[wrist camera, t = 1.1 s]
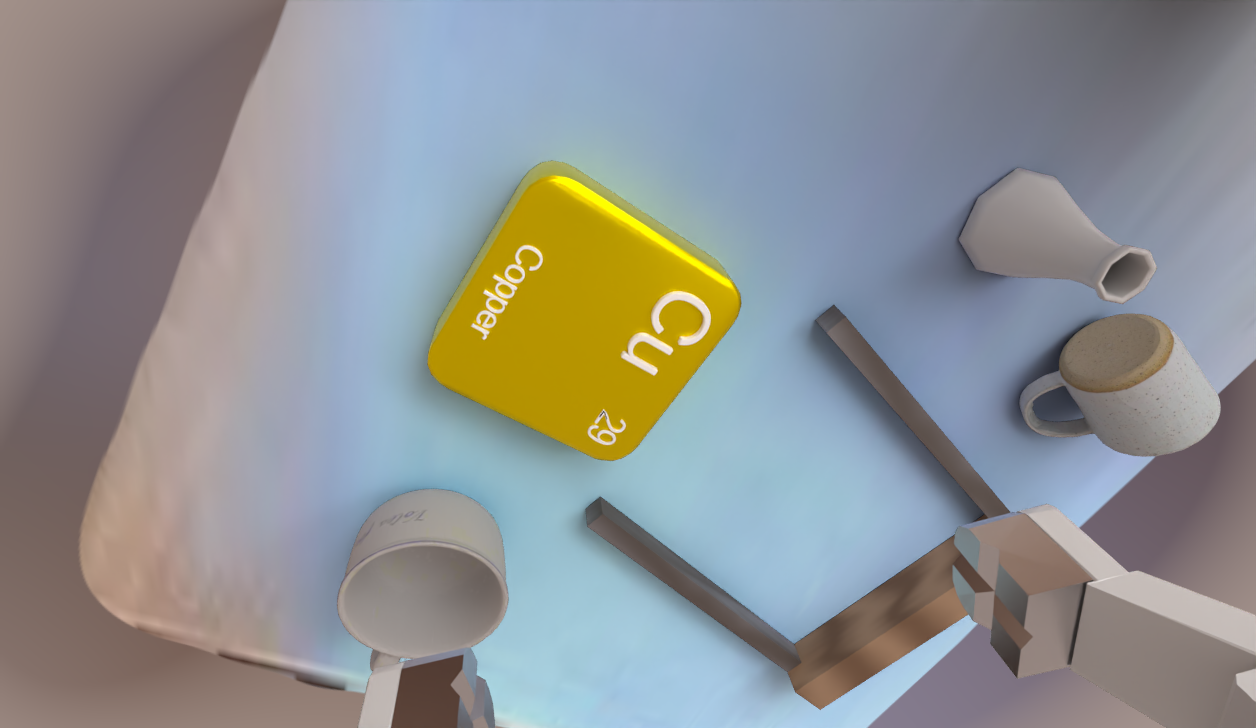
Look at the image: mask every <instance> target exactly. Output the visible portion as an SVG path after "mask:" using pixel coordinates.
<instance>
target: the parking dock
mask: <svg viewBox="0 0 1256 728" xmlns="http://www.w3.org/2000/svg"><path fill="white" fill-rule="evenodd" d="M816 321H817V323H818V324H819V325H820V326H821V327H822V328H823V329H824V331H825V332H826V333H827V334H828V335H829V336H830V337H831V339H832V340H833V341H834V342H835V343H836V344H837V345H838V347H839V348H840V349H841V350H842V351H843V352H844V354H845V355H846V356H847V357H848V358H849V359H850V360H851V362H852V363H853V364H854V365H855V366H856V367H857V368H858V370H859V371H860V372H861V373H862V374H863V375H864V376H865V378H866V379H867V380H868V381H869V382H870V383H871V384H872V386H873V387H874V388H875V389H876V390H877V391H878V392H879V394H880V395H881V396H882V397H883V398H884V399H885V400H886V402H887V403H888V404H889V405H890V406H891V407H892V408H893V410H894V411H895V412H896V413H897V414H898V415H899V416H900V418H901V419H902V420H903V421H904V422H905V423H906V424H907V426H908V427H909V428H910V429H911V430H912V431H913V432H914V434H915V435H916V436H917V437H918V438H919V439H920V440H921V442H922V443H923V444H924V445H925V446H926V447H927V448H928V450H929V451H930V452H931V453H932V454H933V455H934V456H935V458H936V459H937V460H938V461H939V462H940V463H941V464H942V466H943V467H944V468H945V469H946V470H947V471H948V472H949V474H950V475H951V476H952V477H953V478H954V479H955V480H956V482H957V483H958V484H959V485H960V486H961V487H962V488H963V490H964V491H965V492H966V493H967V494H968V495H969V496H970V498H971V499H972V500H973V501H974V502H975V503H976V504H977V506H978V507H979V508H980V509H981V510H982V511H983V512H984V514H985V515H983V516H982V517H980V518H979V519H977V520H976V521H974V522H977V521H981V520H985V519H989V518H992V517H996V516H1000V515H1004V514H1008V513H1011V512H1010V511H1009V510H1008V509H1007V508H1006V507H1005V505H1004V504H1003V503H1002V502H1001V501H1000V499H999V498H998V497H997V496H996V495H995V493H994V492H993V491H992V490H991V489H990V488H989V486H988V485H987V484H986V483H985V482H984V480H983V479H982V478H981V477H980V476H979V474H978V473H977V472H976V471H975V470H974V469H973V467H972V466H971V465H970V464H969V463H968V461H967V460H966V459H965V458H964V457H963V455H962V454H961V453H960V452H959V451H958V450H957V448H956V447H955V446H954V445H953V444H952V442H951V441H950V440H949V439H948V438H947V436H946V435H945V434H944V433H943V432H942V431H941V429H940V428H939V427H938V426H937V425H936V423H935V422H934V421H933V420H932V419H931V417H930V416H929V415H928V414H927V413H926V412H925V410H924V409H923V408H922V407H921V406H920V404H919V403H918V402H917V401H916V400H915V398H914V397H913V396H912V395H911V394H910V393H909V391H908V390H907V389H906V388H905V387H904V385H903V384H902V383H901V382H900V381H899V379H898V378H897V377H896V376H895V375H894V374H893V372H892V371H891V370H890V369H889V368H888V366H887V365H886V364H885V363H884V362H883V360H882V359H881V358H880V357H879V356H878V355H877V353H876V352H875V351H874V350H873V349H872V347H871V346H870V345H869V344H868V343H867V341H866V340H865V339H864V338H863V337H862V336H861V334H860V333H859V332H858V331H857V330H856V328H855V327H854V326H853V325H852V324H851V322H850V321H849V320H848V319H847V318H846V317H845V316H844V315H843V314H842V313H841V312H840V310H839V309H838V308H837V307H836V306H835V305H833V306H832V307H831V308H830V309H828V310H827V311H826V312H825V313H823V314H822V315H821V316H820V317H819V318H817V319H816ZM586 518H587V527H589V528H590V529H591V530H593V531H594V532H595V533H597V534H598V535H600V536H601V537H602V538H604V539H605V540H606V541H608V542H609V543H611V544H612V545H613V546H615V547H616V548H617V549H619V550H620V551H622V552H623V553H624V554H626V555H627V556H629V557H630V558H631V559H633V560H634V561H635V562H637V563H638V564H640V565H641V566H642V567H644V568H645V569H646V570H648V571H649V572H651V573H652V574H653V575H655V576H656V577H657V578H659V579H660V580H662V581H663V582H664V583H666V584H667V585H668V586H670V587H671V588H673V589H674V590H675V591H677V592H678V593H679V594H681V595H682V596H684V597H685V598H686V599H688V600H689V601H690V602H692V603H693V604H695V605H696V606H697V607H699V608H700V609H701V610H703V611H704V612H706V613H707V614H708V615H710V616H711V617H712V618H714V619H715V620H717V621H718V622H719V623H721V624H722V625H723V626H725V627H726V628H728V629H729V630H730V631H732V632H733V633H734V634H736V635H737V636H739V637H740V638H741V639H743V640H744V641H745V642H747V643H748V644H750V645H751V646H752V647H754V648H755V649H756V650H758V651H759V652H761V653H762V654H763V655H765V656H766V657H767V658H769V659H770V660H772V661H773V662H774V663H776V664H777V665H778V666H780V667H781V668H783V669H784V670H785V671H787V672H788V674H789V677H790V680H791V682H792V685H793V688H794V690H795V692H796V693H797V694H799V695H800V696H802V697H803V698H804V699H806V700H807V701H809V702H810V703H811V704H813V705H814V706H816V707H817V708H818V709H820V710H821V709H822V708H824V707H825V706H827V705H828V704H830V703H832V702H833V701H835V700H836V699H838V698H839V697H841V696H842V695H844V694H846V693H847V692H849V691H850V690H852V689H853V688H855V687H856V686H858V685H860V684H861V683H863V682H864V681H866V680H867V679H869V678H870V677H872V676H873V675H875V674H877V673H878V672H880V671H881V670H883V669H884V668H886V667H887V666H889V665H891V664H892V663H894V662H895V661H897V660H898V659H900V658H901V657H903V656H905V655H906V654H908V653H909V652H911V651H912V650H914V649H915V648H917V647H919V646H920V645H922V644H923V643H925V642H926V641H928V640H929V639H931V638H932V637H934V636H936V635H937V634H939V633H940V632H942V631H943V630H945V629H946V628H948V627H950V626H951V625H953V624H954V623H956V622H957V621H959V620H960V619H962V618H964V617H965V616H967V615H968V613H967V612H966V610H965V609H964V607H963V606H962V604H961V602H960V600H959V598H958V596H957V593H956V590H955V586H954V583H953V563H954V562H955V561H956V559H957V558H958V557H959V555H960V554H961V552H960V551H959V550H958V548H957V547H956V546H955V545H954V539H955V535H954V536H952V537H951V538H949V539H948V540H946V541H945V542H944V543H942V544H941V545H939V546H938V547H936V548H935V549H933V550H932V551H930V552H929V553H927V554H926V555H924V556H923V557H922V558H920V559H919V560H917V561H916V562H914V563H913V564H911V565H910V566H908V567H907V568H905V569H904V570H902V571H901V572H900V573H898V574H897V575H895V576H894V577H892V578H891V579H889V580H888V581H886V582H885V583H883V584H882V585H880V586H879V587H877V588H876V589H875V590H873V591H872V592H870V593H869V594H867V595H866V596H864V597H863V598H861V599H860V600H858V601H857V602H855V603H854V604H853V605H851V606H850V607H848V608H847V609H845V610H844V611H842V612H841V613H839V614H838V615H836V616H835V617H833V618H832V619H831V620H829V621H828V622H826V623H825V624H823V625H822V626H820V627H819V628H817V629H816V630H814V631H813V632H811V633H810V634H809V635H807V636H806V637H804V638H803V639H801V640H800V641H798V642H797V643H795V644H793V643H792V642H791V641H789V640H788V639H787V638H785V637H784V636H783V635H781V634H780V633H779V632H777V631H776V630H775V629H773V628H772V627H771V626H770V625H768V624H767V623H766V622H764V621H763V620H762V619H760V618H759V617H758V616H756V615H755V614H754V613H752V612H751V611H750V610H749V609H747V608H746V607H745V606H743V605H742V604H741V603H739V602H738V601H737V600H735V599H734V598H733V597H731V596H730V595H729V594H728V593H726V592H725V591H724V590H722V589H721V588H720V587H718V586H717V585H716V584H714V583H713V582H712V581H711V580H709V579H708V578H707V577H705V576H704V575H703V574H701V573H700V572H699V571H697V570H696V569H695V568H693V567H692V566H691V565H690V564H688V563H687V562H686V561H684V560H683V559H682V558H680V557H679V556H678V555H676V554H675V553H674V552H672V551H671V550H670V549H669V548H667V547H666V546H665V545H663V544H662V543H661V542H659V541H658V540H657V539H655V538H654V537H653V536H652V535H650V534H649V533H648V532H646V531H645V530H644V529H642V528H641V527H640V526H638V525H637V524H636V523H634V522H633V521H632V520H631V519H629V518H628V517H627V516H625V515H624V514H623V513H621V512H620V511H619V510H617V509H616V508H615V507H613V506H612V505H611V504H610V503H608V502H607V501H606V500H604V499H603V498H602V497H599V498H598V499H597V500H596V501H595V502H593V503H592V504H591V505H590V506H588V507H587V508H586Z"/></svg>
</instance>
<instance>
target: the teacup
mask: <svg viewBox="0 0 1256 728" xmlns="http://www.w3.org/2000/svg"><path fill="white" fill-rule="evenodd" d="M507 605H508V589H507V584H506V570H505V556H504V547H503V541H502V536H501V533H500V530H499V528H498V525H497V523H496V522H495V520H494V518H493V517H492V516H491V514H490V513H489V512H488V511H487V510H486V509H485V508H484V507H483V506H482V505H481V504H479V503H478V502H476V501H475V500H473V499H471V498H469V497H467V496H465V495H463V494H460V493H457V492H453V491H449V490H442V489H423V490H415V491H411V492H407V493H404V494H401V495H399V496H396V497H394V498H392V499H390V500H388V501H387V502H385V503H384V504H382V505H381V506H380V507H378V508H377V509H376V510H375V511H374V512H373V513H372V514H371V515H370V516H369V517H368V519H367V520H366V521H365V523H364V524H363V526H362V527H361V529H360V531H359V533H358V535H357V538H356V540H355V543H354V546H353V549H352V552H351V555H350V558H349V562H348V565H347V569H346V573H345V578H344V579H343V581H342V583H341V586H340V589H339V592H338V598H337V609H338V615H339V617H340V619H341V621H342V623H343V625H344V627H345V628H346V630H347V631H348V632H349V633H350V634H351V635H352V636H353V637H354V638H355V639H356V640H358V641H359V642H361V643H362V644H364V645H366V646H367V647H370V648H372V649H373V651H372V655H371V660H370V668H371V670H372V671H374V669H375V668H378V667H382V666H387V665H391V664H396V663H398V662H399V660H400V658H408V659H416V658H421V657H425V656H430V655H435V654H439V653H444V652H448V651H453V650H457V649H462V648H471V647H473V646H474V645H476V644H478V643H479V642H481V641H482V640H484V639H485V638H486V637H487V636H489V635H490V634H491V633H492V632H493V631H494V630H495V629H496V628H497V627H498V625H499V624H500V623H501V621H502V619H503V618H504V615H505V613H506V609H507Z"/></svg>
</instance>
